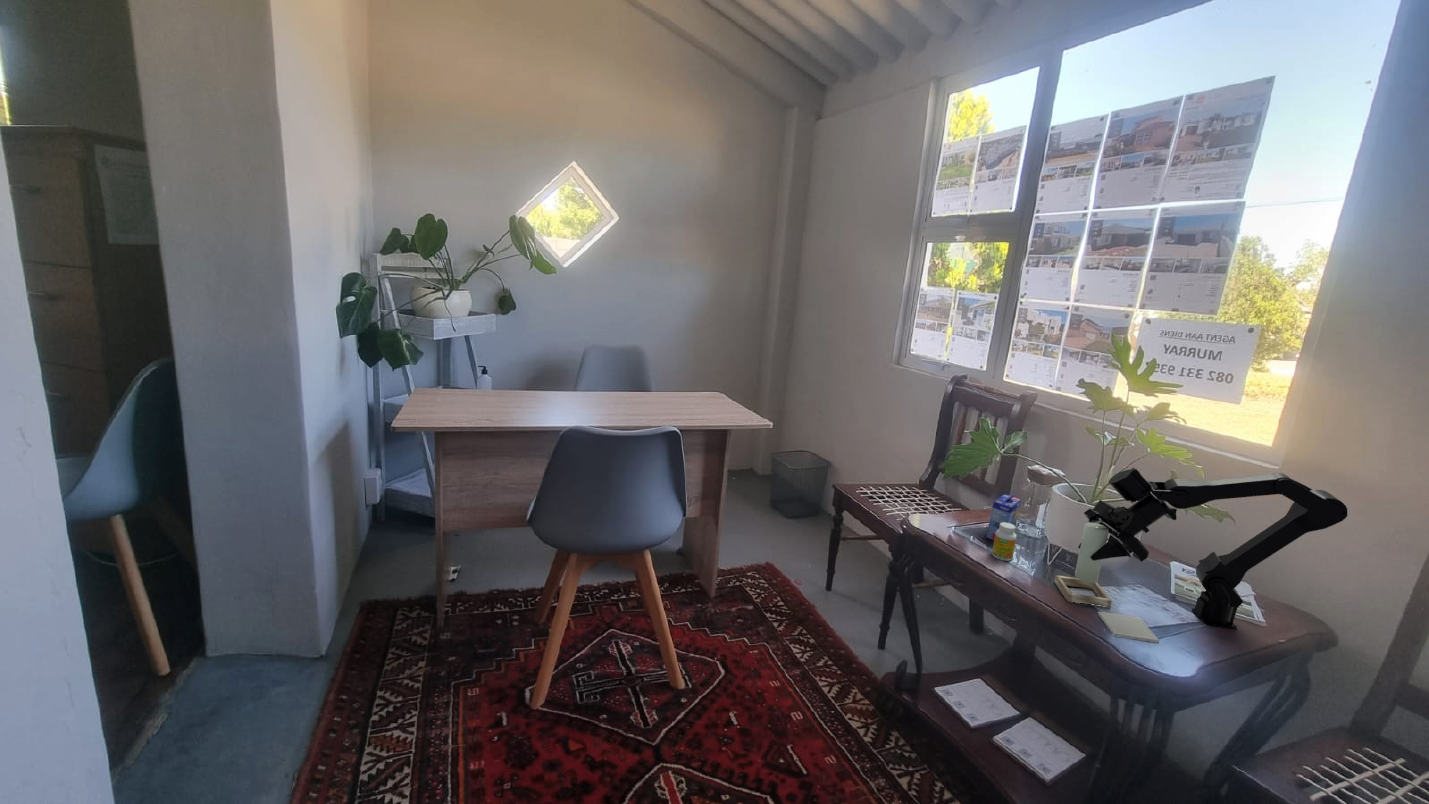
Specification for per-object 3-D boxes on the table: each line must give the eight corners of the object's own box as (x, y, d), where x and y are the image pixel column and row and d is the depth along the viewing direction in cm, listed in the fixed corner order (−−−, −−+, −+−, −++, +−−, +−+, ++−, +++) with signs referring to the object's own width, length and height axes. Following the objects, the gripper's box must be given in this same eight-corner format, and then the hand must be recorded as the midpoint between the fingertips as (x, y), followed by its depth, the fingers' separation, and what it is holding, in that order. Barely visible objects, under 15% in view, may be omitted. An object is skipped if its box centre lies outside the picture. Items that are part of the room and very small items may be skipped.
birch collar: (1094, 587, 152) (1095, 580, 152) (1110, 608, 143) (1112, 600, 142) (1054, 581, 154) (1055, 575, 153) (1067, 601, 145) (1069, 594, 144)
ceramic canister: (1092, 574, 149) (1103, 524, 146) (1101, 584, 144) (1112, 532, 141) (1071, 571, 150) (1081, 521, 147) (1078, 581, 145) (1089, 529, 142)
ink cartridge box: (1004, 544, 174) (1012, 499, 171) (985, 538, 178) (993, 494, 174) (1015, 535, 181) (1023, 491, 178) (996, 529, 185) (1004, 486, 181)
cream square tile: (1139, 619, 138) (1139, 617, 138) (1158, 642, 130) (1159, 640, 130) (1097, 613, 140) (1097, 611, 140) (1114, 636, 132) (1114, 633, 132)
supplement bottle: (993, 558, 165) (998, 527, 163) (990, 550, 170) (996, 519, 168) (1013, 562, 163) (1019, 530, 161) (1010, 554, 168) (1016, 523, 166)
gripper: (1098, 479, 151) (1047, 515, 154) (1146, 508, 133) (1087, 549, 136) (1123, 509, 152) (1072, 544, 155) (1174, 542, 134) (1115, 581, 137)
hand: (1085, 553), depth 146 cm, fingers closed on ceramic canister, 5 cm apart
